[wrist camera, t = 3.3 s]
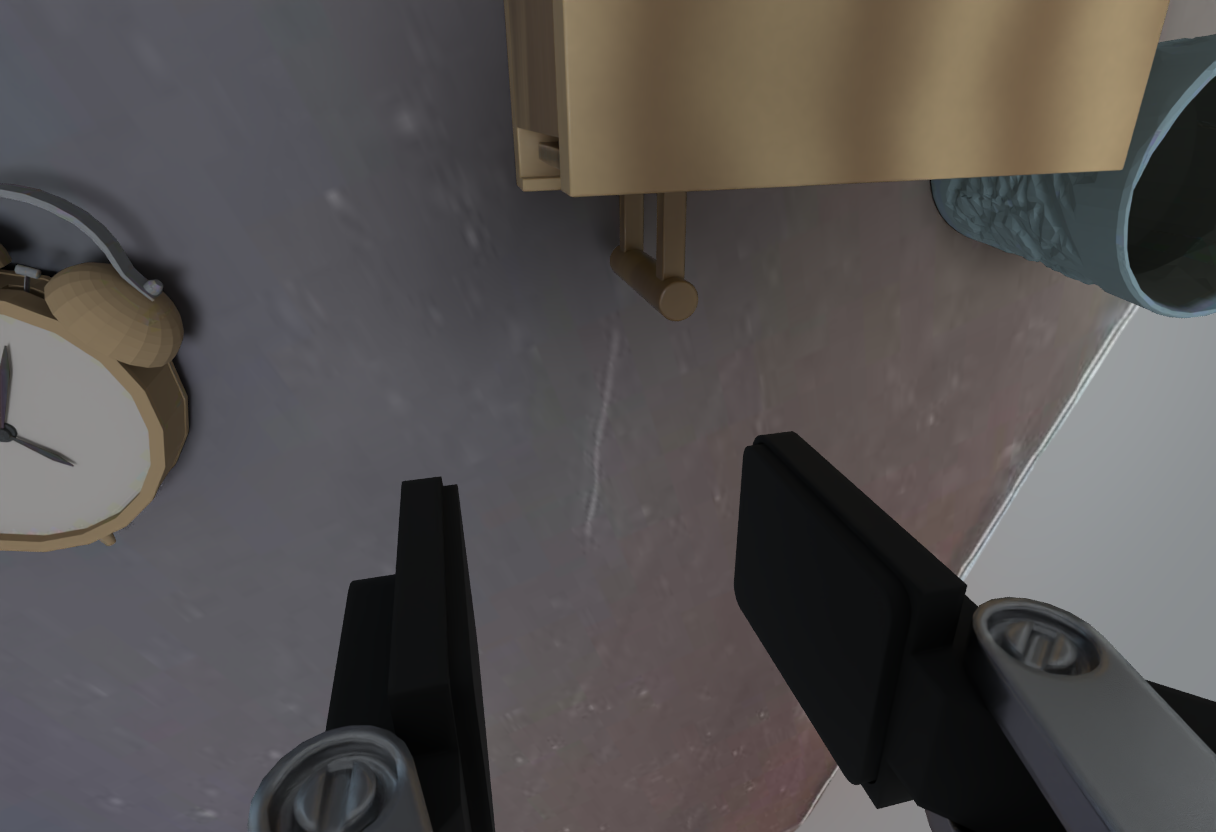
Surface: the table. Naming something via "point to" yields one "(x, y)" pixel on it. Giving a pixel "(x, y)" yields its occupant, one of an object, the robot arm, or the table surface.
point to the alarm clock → (83, 392)
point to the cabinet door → (637, 268)
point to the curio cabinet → (821, 90)
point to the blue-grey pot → (1121, 199)
